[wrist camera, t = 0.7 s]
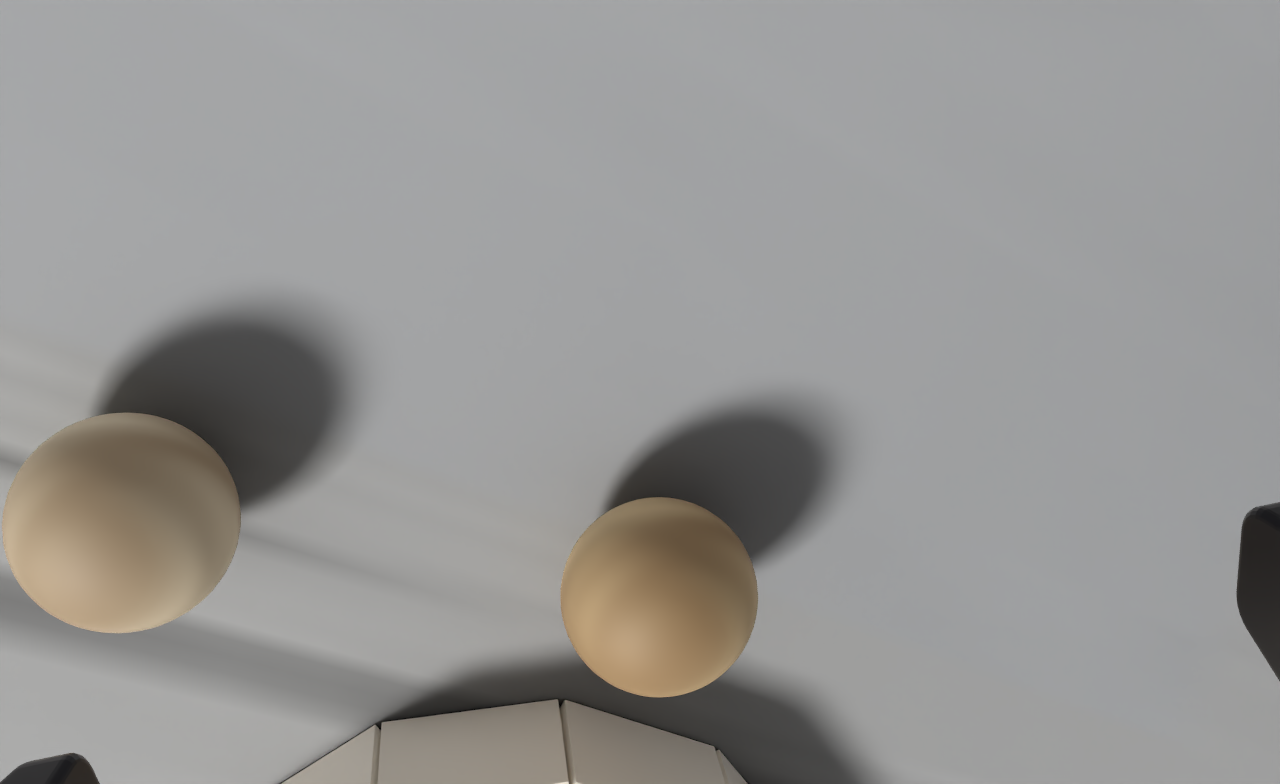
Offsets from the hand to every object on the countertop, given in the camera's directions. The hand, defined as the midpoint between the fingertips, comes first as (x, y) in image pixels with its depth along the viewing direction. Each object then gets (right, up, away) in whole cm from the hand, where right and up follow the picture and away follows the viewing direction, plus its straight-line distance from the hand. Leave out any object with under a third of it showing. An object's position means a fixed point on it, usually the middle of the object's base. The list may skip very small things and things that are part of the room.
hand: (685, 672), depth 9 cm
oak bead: (0, -2, +13) cm, 13 cm away
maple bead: (-9, 0, +11) cm, 14 cm away
